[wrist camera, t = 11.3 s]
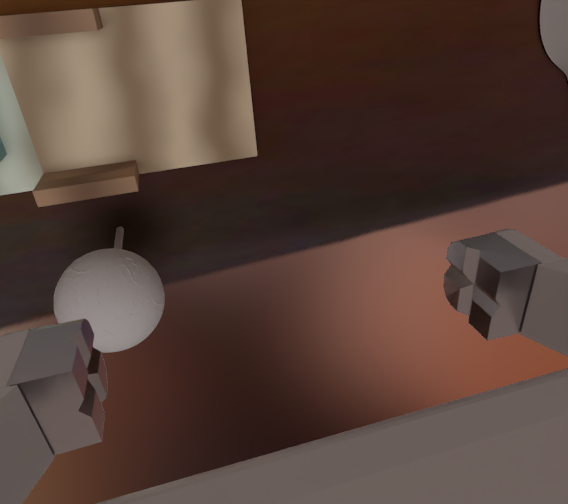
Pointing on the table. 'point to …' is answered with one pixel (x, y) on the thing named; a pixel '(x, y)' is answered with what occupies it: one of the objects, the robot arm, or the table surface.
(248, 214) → the table surface
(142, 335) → the lollipop
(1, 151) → the block
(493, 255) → the robot arm
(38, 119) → the deck
